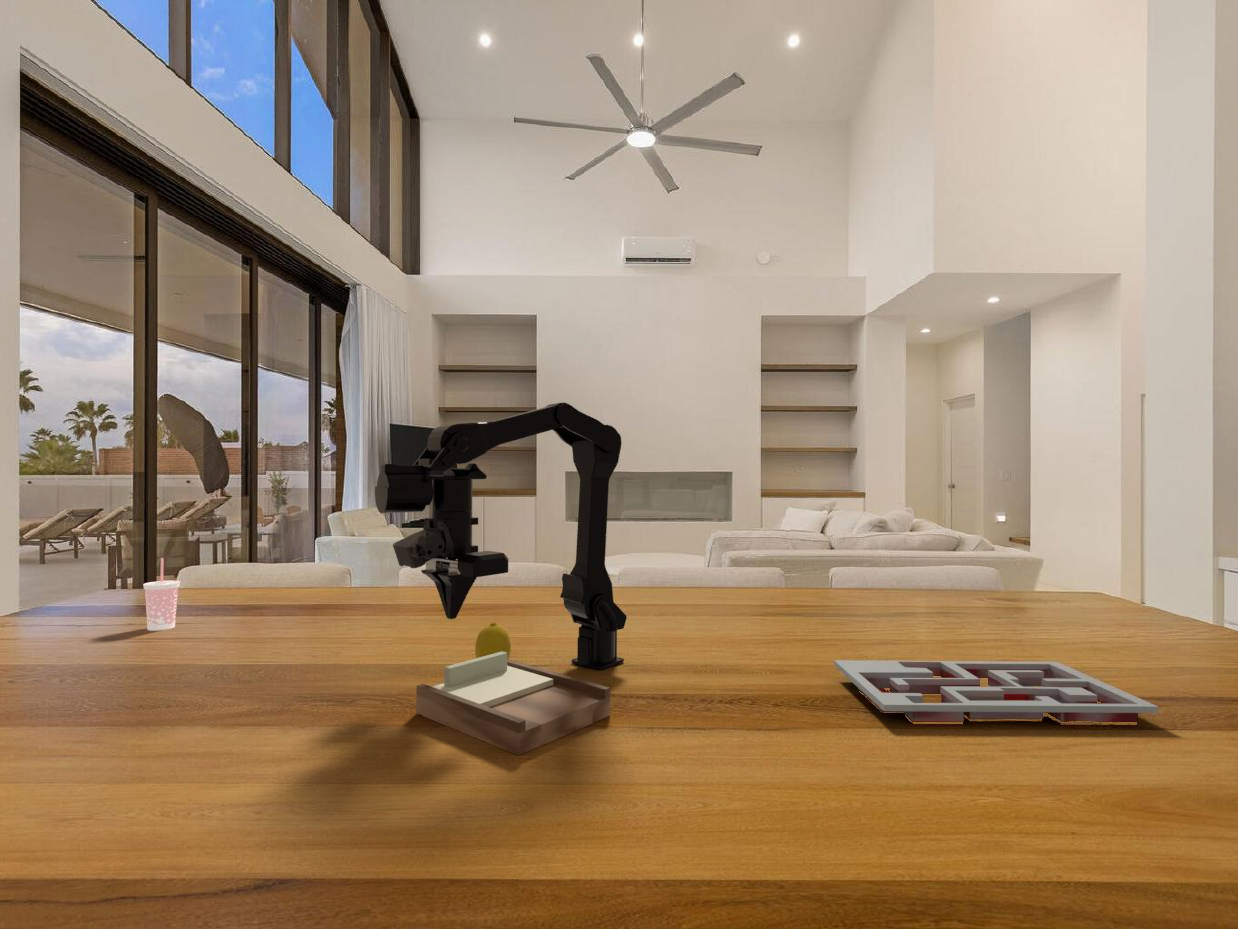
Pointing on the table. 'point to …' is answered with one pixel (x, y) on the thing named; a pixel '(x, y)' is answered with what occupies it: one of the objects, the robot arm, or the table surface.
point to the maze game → (991, 691)
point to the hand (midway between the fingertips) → (451, 618)
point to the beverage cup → (161, 603)
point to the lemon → (492, 641)
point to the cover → (490, 680)
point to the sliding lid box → (520, 711)
